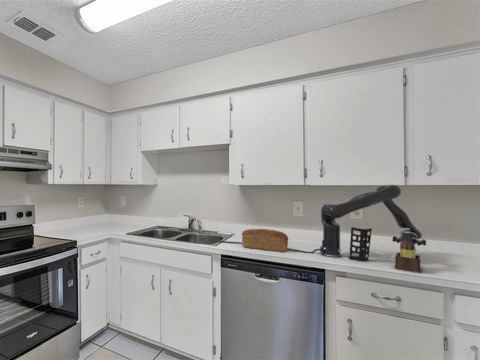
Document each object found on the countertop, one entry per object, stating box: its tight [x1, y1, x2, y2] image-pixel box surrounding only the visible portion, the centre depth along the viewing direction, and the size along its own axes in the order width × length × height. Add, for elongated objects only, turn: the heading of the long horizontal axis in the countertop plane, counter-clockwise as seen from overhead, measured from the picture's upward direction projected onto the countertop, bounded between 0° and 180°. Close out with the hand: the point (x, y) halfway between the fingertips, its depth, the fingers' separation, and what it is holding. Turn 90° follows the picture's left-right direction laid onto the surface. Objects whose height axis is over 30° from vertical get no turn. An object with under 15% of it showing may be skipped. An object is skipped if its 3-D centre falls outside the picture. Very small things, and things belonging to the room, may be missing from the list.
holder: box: [348, 226, 373, 262], centre depth 160 cm, size 11×8×20 cm
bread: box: [241, 228, 289, 252], centre depth 187 cm, size 12×31×14 cm, turn 61°
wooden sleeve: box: [394, 252, 421, 274], centre depth 145 cm, size 10×11×7 cm
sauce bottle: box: [399, 232, 417, 259], centre depth 145 cm, size 7×6×20 cm
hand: (408, 242), depth 150 cm, fingers open, 8 cm apart
